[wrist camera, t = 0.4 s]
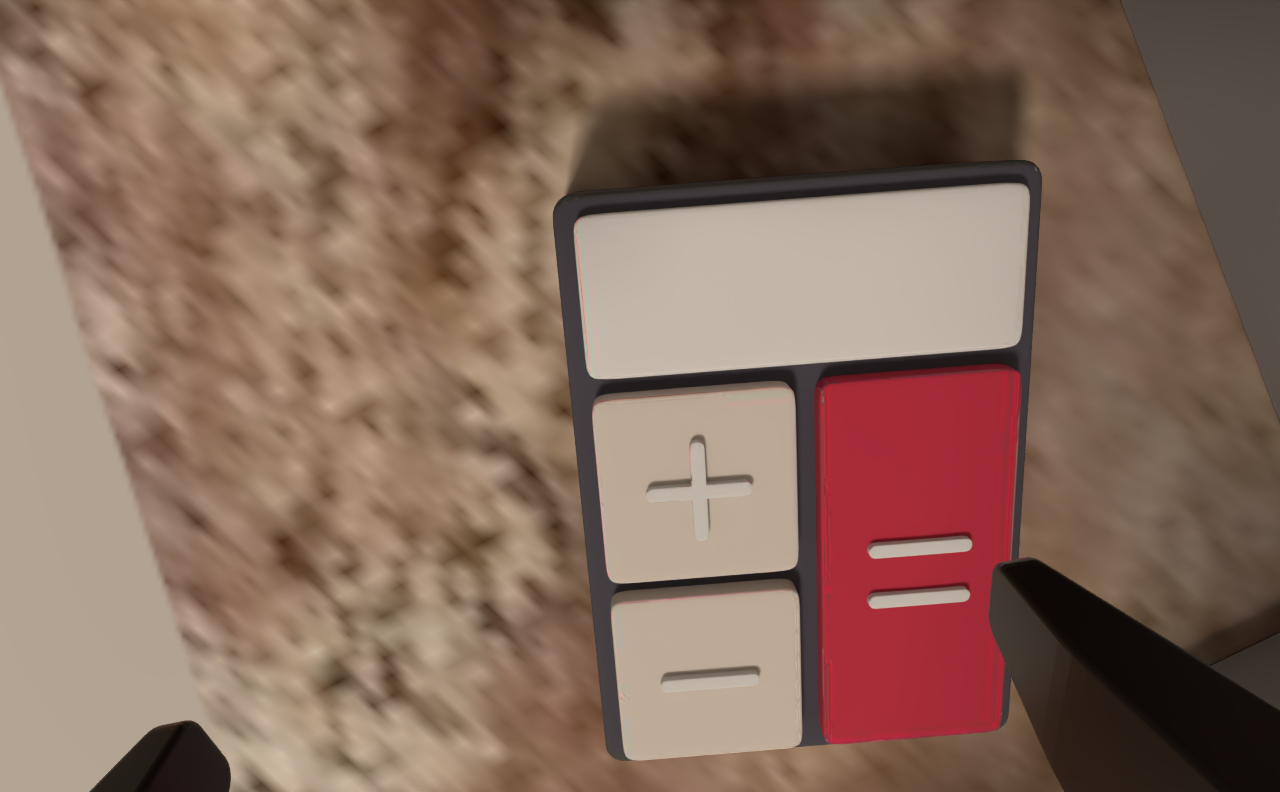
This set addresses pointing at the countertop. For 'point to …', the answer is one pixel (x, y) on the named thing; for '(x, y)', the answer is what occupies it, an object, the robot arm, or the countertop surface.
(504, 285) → the countertop surface
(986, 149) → the countertop surface
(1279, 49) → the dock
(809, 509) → the calculator
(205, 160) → the countertop surface
